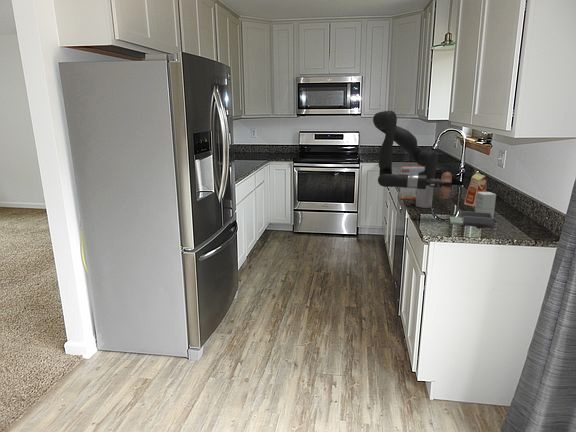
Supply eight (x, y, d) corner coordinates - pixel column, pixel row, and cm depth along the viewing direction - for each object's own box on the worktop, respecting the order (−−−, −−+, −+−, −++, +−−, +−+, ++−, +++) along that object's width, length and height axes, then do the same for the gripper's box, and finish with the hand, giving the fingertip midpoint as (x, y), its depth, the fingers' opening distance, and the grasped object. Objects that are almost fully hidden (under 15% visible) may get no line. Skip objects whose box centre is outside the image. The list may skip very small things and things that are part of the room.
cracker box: (420, 198, 271) (423, 166, 266) (422, 200, 265) (425, 167, 260) (398, 197, 272) (400, 166, 267) (400, 199, 267) (402, 167, 261)
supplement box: (487, 213, 231) (489, 191, 228) (493, 217, 224) (496, 194, 220) (474, 213, 231) (476, 191, 227) (480, 217, 223) (483, 194, 220)
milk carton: (464, 203, 255) (467, 171, 250) (475, 202, 258) (479, 170, 253) (475, 207, 247) (479, 173, 242) (487, 205, 250) (491, 173, 245)
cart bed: (449, 218, 221) (450, 210, 220) (490, 221, 215) (491, 213, 213) (450, 224, 210) (451, 215, 209) (493, 227, 204) (494, 218, 202)
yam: (439, 196, 217) (441, 170, 213) (449, 197, 215) (452, 171, 212) (439, 198, 212) (442, 172, 209) (449, 199, 210) (452, 172, 207)
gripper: (417, 176, 209) (452, 178, 203) (418, 172, 222) (451, 174, 216) (415, 191, 211) (451, 193, 205) (416, 186, 224) (450, 188, 218)
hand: (451, 183), depth 211 cm, fingers closed on yam, 5 cm apart
